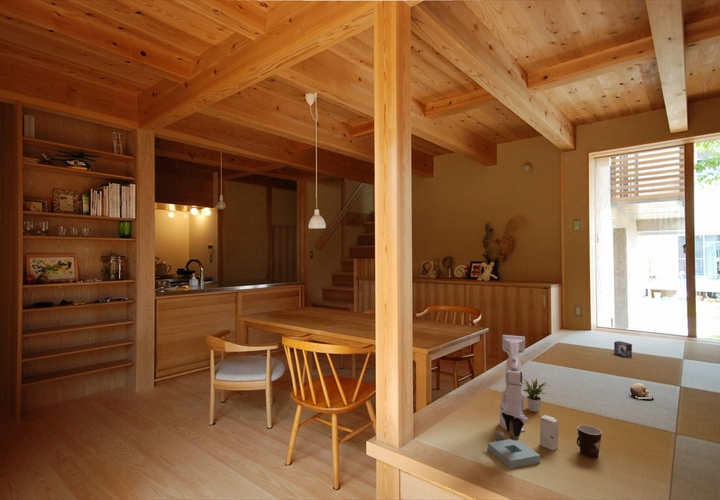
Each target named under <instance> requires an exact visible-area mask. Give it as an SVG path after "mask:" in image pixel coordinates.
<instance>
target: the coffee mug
mask: <svg viewBox="0 0 720 500" xmlns="http://www.w3.org/2000/svg"><path fill="white" fill-rule="evenodd" d="M576 430H577V435H578V436H577V438H576V445H577V446H578V447H579V452H580V454H581V455H582V456H584V457H585V458H586V457H587V458H590V459H597V458H599V453H600V448H601V447H600V446H601V442H602V440H601V439H602V434H603V433H602V430H601V429H600V428H598V427H596V426H592V425H589V424H579V425H578V426H577V429H576Z"/></svg>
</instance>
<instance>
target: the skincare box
mask: <svg viewBox="0 0 720 500" xmlns="http://www.w3.org/2000/svg"><path fill="white" fill-rule="evenodd" d="M559 427H560V419H558V418H555V417H552V416H550V415H546V414H543V415H542V416H541V417H540V427H539V429H540V430H539V445H540V446H542V447H544V448H545V449H548V450H550V451H554V450H557V449H558V448H559V447H558V446H559V429H560V428H559Z"/></svg>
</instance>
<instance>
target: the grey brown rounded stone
mask: <svg viewBox="0 0 720 500" xmlns="http://www.w3.org/2000/svg"><path fill="white" fill-rule="evenodd" d="M494 433H495V437H494V438H495V440H494V442H496V441H501V440H505V433H504V432H503V431H501V430H497V431H495V432H494Z"/></svg>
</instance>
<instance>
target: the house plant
mask: <svg viewBox="0 0 720 500" xmlns="http://www.w3.org/2000/svg"><path fill="white" fill-rule="evenodd" d="M523 381H524V382H525V383H524V382H523V385H525V387H526V388H524V389H522V392H526V393H528V395H527V396H526V401H527V407H528V410H529V411H530V412H533V413H534V412H535V413H538V412H540V410H541V408H540V407H541V404H542V403H541V402H542V398H541V396H542V395H547V394H548V393H547V392H543V390H544V389H546V388H545V386H550V385H549V384H547V383H548V382H547V381H546V382H542V383H541V384H538V379H537V377H536V379H535V380H533V379H531V382H532V384H529V382H528V380H526V379H525V378H523ZM540 395H541V396H540Z"/></svg>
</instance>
